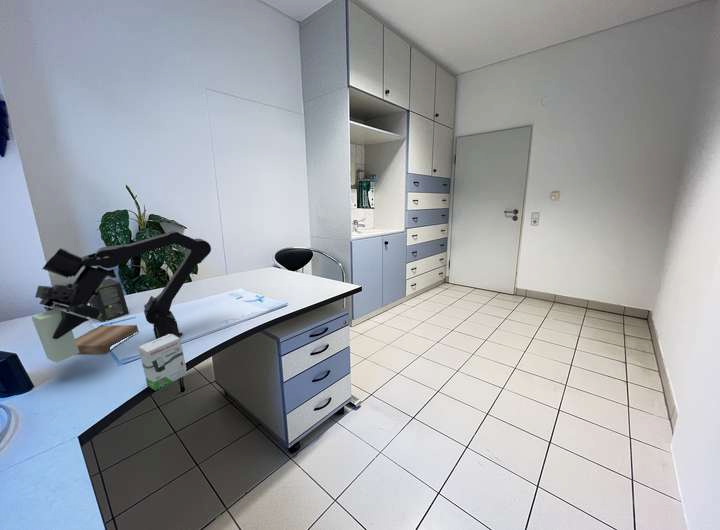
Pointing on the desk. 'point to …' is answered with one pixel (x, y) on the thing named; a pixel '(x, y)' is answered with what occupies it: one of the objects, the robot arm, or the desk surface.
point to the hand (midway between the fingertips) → (49, 337)
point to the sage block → (46, 329)
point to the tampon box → (110, 300)
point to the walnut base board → (103, 338)
